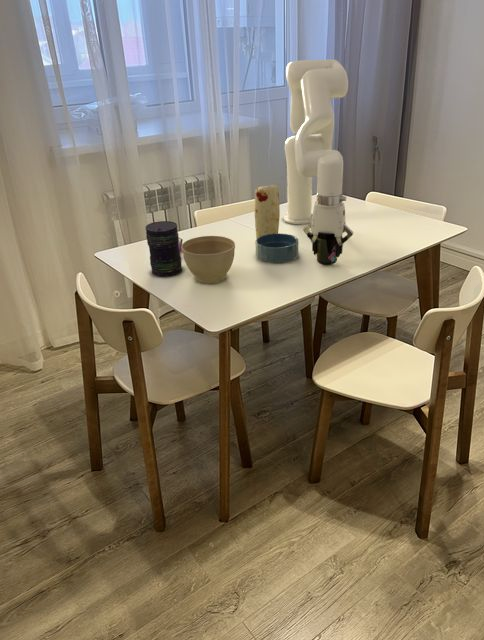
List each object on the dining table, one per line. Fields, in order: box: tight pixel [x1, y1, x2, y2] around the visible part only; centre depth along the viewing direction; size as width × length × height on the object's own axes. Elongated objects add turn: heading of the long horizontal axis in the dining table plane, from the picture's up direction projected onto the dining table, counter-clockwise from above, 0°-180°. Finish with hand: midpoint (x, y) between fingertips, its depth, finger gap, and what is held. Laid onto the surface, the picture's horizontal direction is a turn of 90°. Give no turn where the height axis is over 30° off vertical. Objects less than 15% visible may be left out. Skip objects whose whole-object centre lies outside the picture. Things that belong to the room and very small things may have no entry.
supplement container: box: [316, 232, 338, 266], centre depth 170 cm, size 7×7×10 cm
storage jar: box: [145, 220, 183, 278], centre depth 169 cm, size 10×10×15 cm
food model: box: [254, 184, 281, 240], centre depth 189 cm, size 10×7×20 cm
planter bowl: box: [181, 235, 236, 284], centre depth 164 cm, size 16×16×11 cm
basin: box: [255, 232, 299, 264], centre depth 180 cm, size 14×14×6 cm
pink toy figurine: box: [178, 236, 183, 254], centre depth 185 cm, size 7×5×9 cm
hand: (327, 254), depth 172 cm, fingers closed on supplement container, 6 cm apart
